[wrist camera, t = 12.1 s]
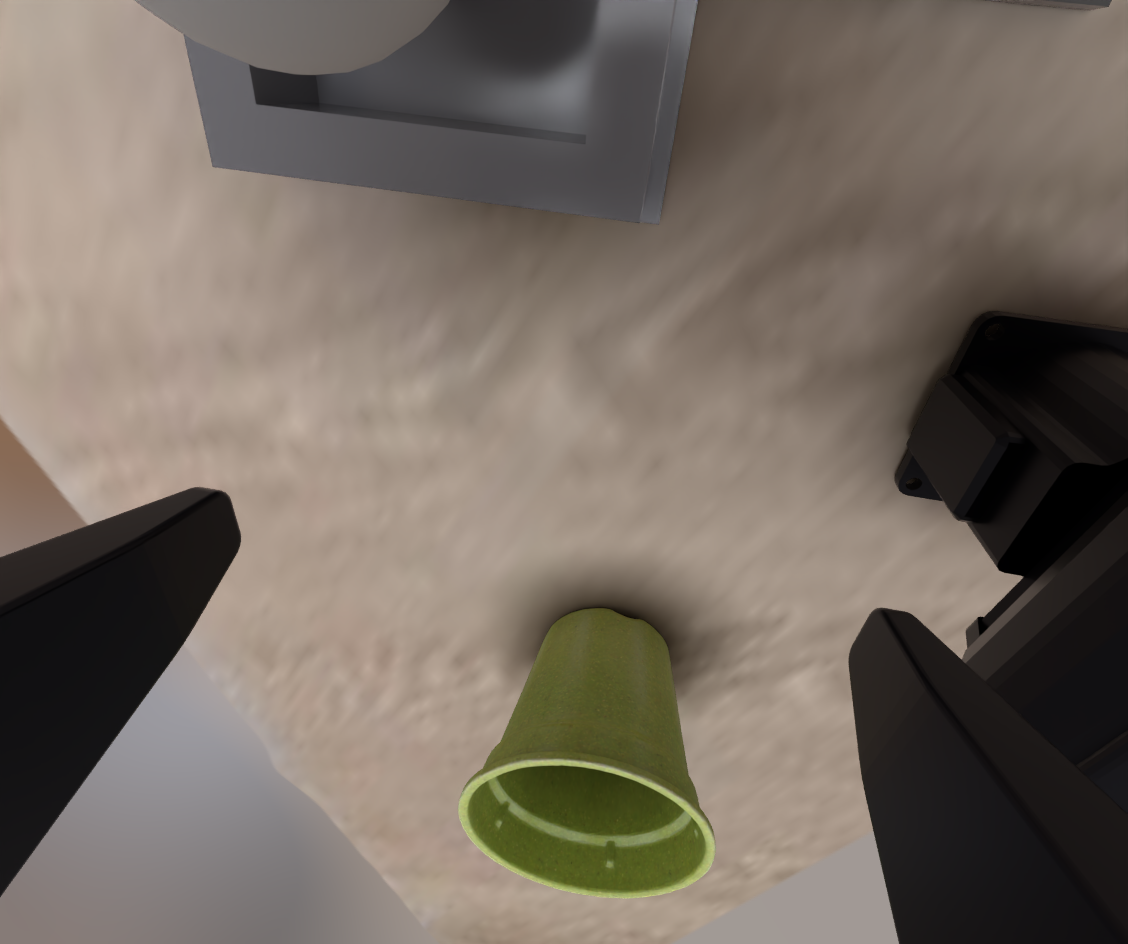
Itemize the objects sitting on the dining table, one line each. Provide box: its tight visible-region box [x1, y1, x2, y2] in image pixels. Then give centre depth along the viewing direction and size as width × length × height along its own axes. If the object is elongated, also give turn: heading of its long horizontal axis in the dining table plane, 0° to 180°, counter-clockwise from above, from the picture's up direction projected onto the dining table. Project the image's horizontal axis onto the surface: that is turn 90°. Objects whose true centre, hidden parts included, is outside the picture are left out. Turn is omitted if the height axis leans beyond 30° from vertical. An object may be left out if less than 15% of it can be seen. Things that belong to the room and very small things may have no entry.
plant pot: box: [458, 608, 716, 898], centre depth 25 cm, size 9×9×9 cm
